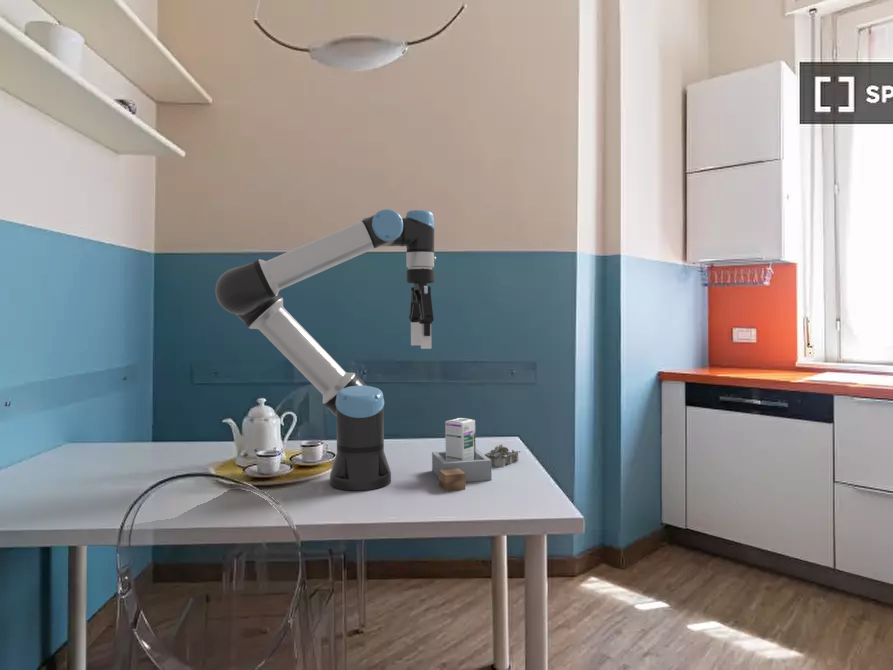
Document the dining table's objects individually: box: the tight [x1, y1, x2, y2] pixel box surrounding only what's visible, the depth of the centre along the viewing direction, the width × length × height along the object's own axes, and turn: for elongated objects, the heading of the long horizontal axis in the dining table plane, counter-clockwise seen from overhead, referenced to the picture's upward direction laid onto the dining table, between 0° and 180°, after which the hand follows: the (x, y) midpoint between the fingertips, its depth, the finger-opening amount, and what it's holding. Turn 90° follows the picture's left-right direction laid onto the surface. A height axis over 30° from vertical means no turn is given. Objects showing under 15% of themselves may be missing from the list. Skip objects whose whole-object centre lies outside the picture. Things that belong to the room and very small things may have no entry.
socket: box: [431, 448, 492, 483], centre depth 165 cm, size 12×12×5 cm
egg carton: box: [484, 444, 521, 468], centre depth 179 cm, size 11×8×4 cm
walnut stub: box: [438, 468, 466, 492], centre depth 154 cm, size 5×5×4 cm
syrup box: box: [444, 417, 477, 462], centre depth 165 cm, size 6×6×14 cm
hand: (420, 347), depth 173 cm, fingers open, 13 cm apart
